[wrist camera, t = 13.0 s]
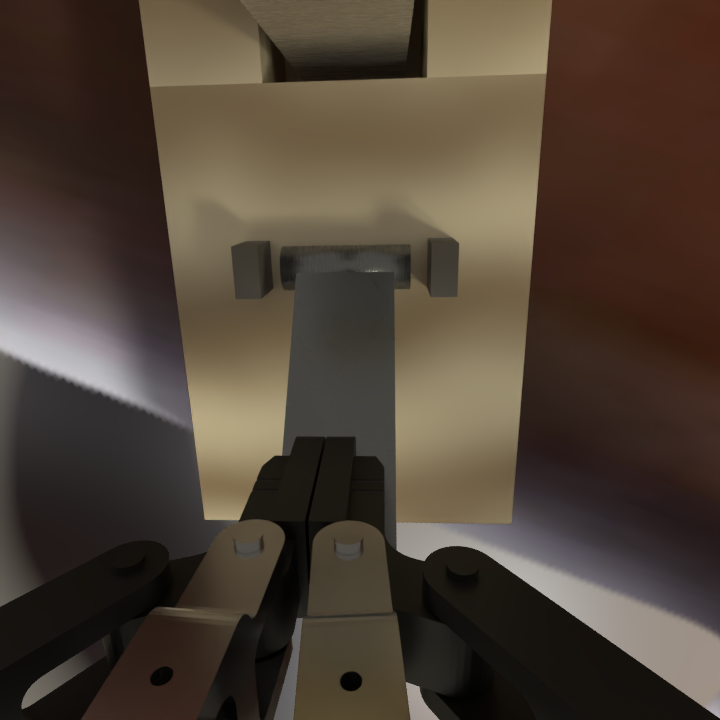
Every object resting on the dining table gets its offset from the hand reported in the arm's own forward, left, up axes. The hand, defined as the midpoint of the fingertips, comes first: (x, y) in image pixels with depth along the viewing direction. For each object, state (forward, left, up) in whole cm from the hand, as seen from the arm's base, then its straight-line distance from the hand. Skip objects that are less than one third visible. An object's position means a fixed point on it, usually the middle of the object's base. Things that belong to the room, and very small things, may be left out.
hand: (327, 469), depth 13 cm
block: (+6, 0, -11) cm, 13 cm away
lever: (0, 0, -2) cm, 3 cm away
